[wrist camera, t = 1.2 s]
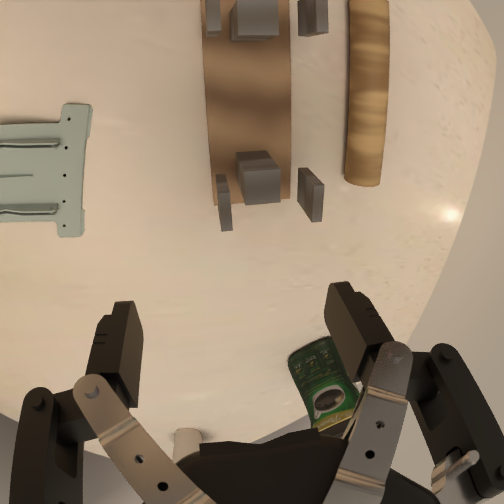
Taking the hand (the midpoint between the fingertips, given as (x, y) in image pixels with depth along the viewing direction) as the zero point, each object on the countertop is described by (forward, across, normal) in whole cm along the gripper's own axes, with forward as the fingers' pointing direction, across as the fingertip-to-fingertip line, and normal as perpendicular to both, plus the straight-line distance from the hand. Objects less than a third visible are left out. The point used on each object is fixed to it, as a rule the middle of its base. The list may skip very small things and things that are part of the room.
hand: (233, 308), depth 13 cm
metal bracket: (+22, +20, -1) cm, 30 cm away
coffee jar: (+22, -15, +33) cm, 43 cm away
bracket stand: (+22, -4, -6) cm, 23 cm away
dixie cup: (+22, +10, +58) cm, 63 cm away
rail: (+22, -16, -8) cm, 28 cm away
